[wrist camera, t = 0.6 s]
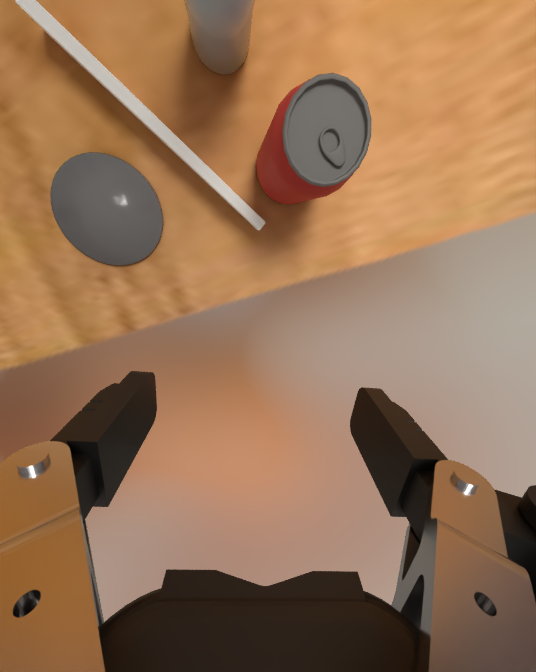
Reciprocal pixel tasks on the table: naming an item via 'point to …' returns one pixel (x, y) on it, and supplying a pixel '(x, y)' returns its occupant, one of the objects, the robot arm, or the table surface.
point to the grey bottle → (220, 32)
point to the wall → (136, 107)
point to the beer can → (314, 140)
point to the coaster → (106, 208)
